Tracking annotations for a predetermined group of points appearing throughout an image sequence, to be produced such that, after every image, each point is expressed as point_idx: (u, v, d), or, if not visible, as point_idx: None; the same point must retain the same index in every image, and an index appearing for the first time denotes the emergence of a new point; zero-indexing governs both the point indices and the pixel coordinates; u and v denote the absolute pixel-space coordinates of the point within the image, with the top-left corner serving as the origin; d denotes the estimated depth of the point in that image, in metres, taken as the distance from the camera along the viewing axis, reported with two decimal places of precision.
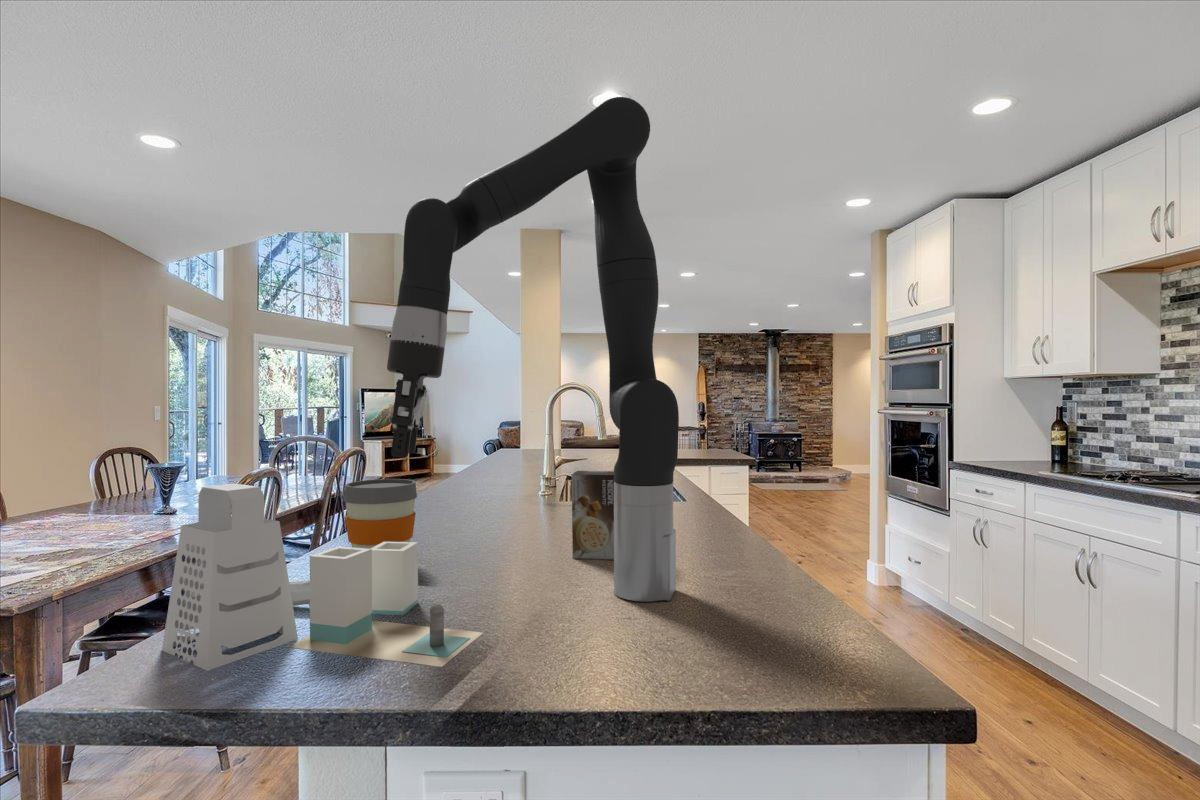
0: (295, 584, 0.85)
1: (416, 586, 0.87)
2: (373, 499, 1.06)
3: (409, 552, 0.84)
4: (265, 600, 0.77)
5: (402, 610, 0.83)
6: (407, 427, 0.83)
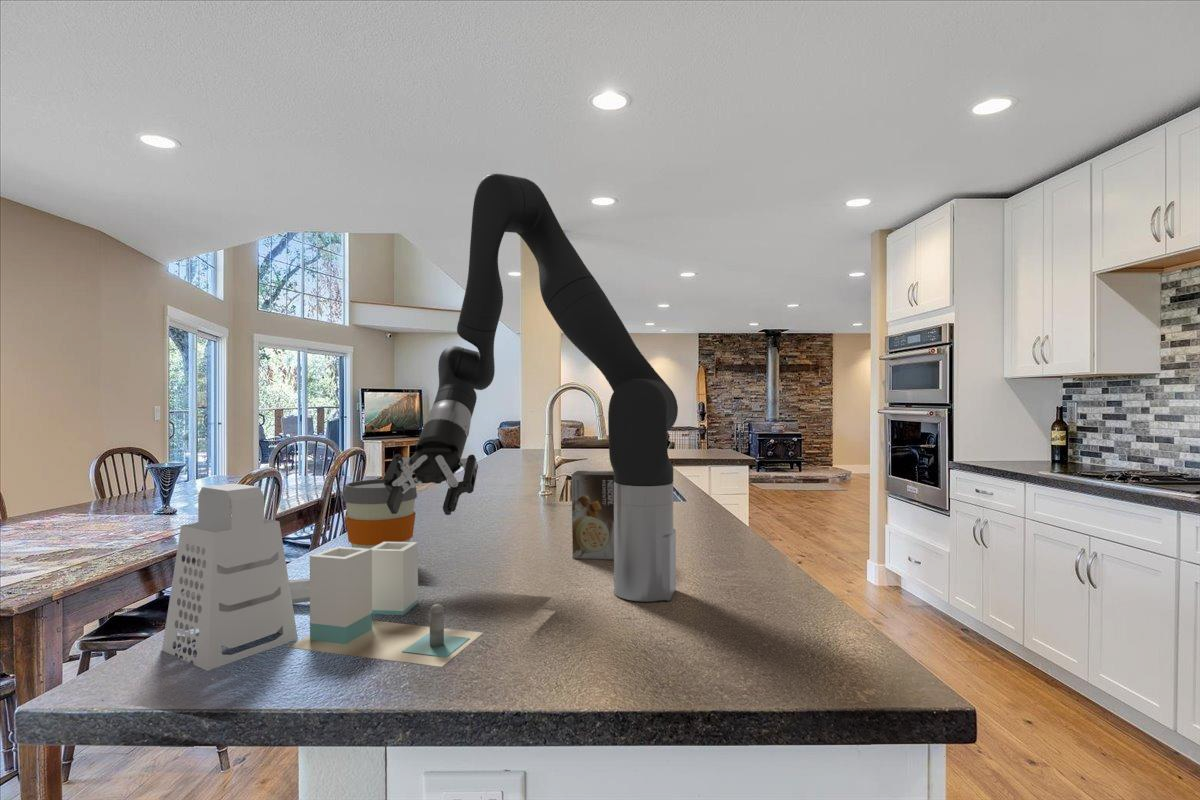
0: (300, 582, 0.86)
1: (416, 586, 0.87)
2: (373, 499, 1.06)
3: (409, 552, 0.84)
4: (265, 600, 0.77)
5: (402, 610, 0.83)
6: (391, 486, 0.98)
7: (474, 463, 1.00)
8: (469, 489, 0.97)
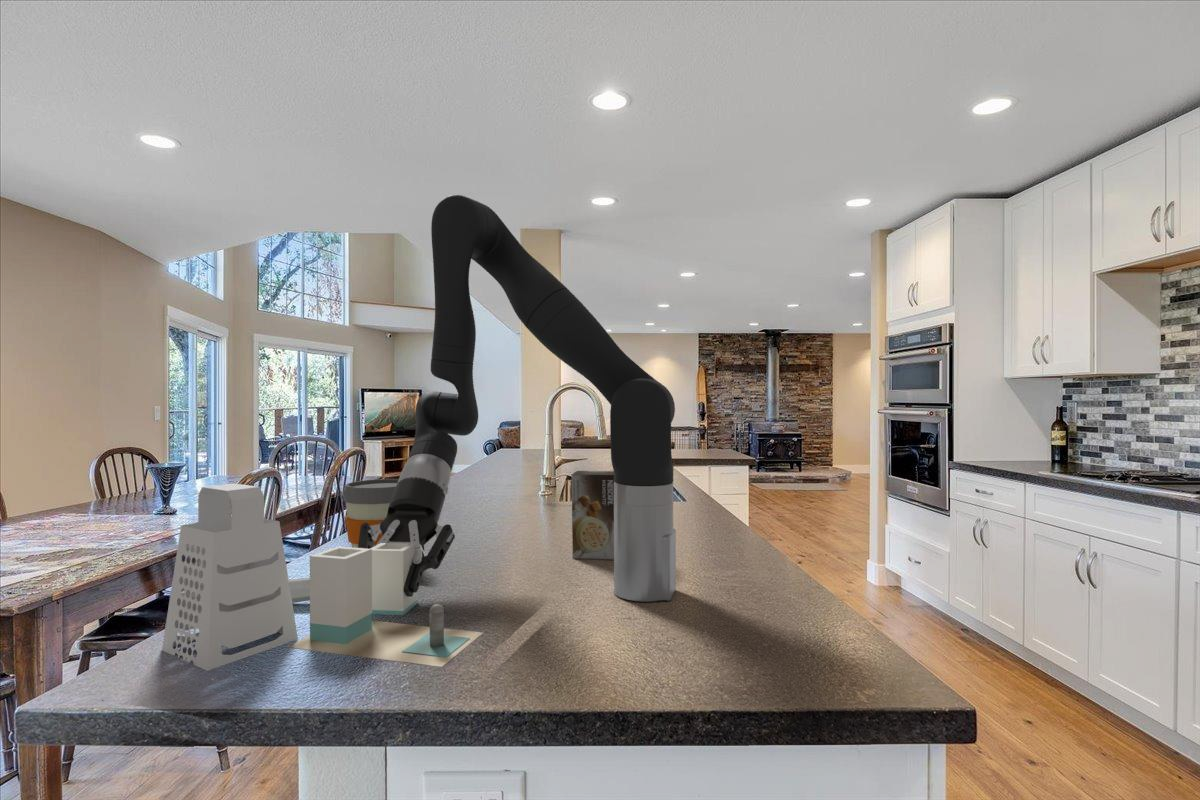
0: (300, 581, 0.86)
1: None
2: (373, 499, 1.06)
3: (409, 552, 0.84)
4: (265, 600, 0.77)
5: (401, 610, 0.82)
6: None
7: (448, 535, 0.88)
8: (433, 565, 0.86)
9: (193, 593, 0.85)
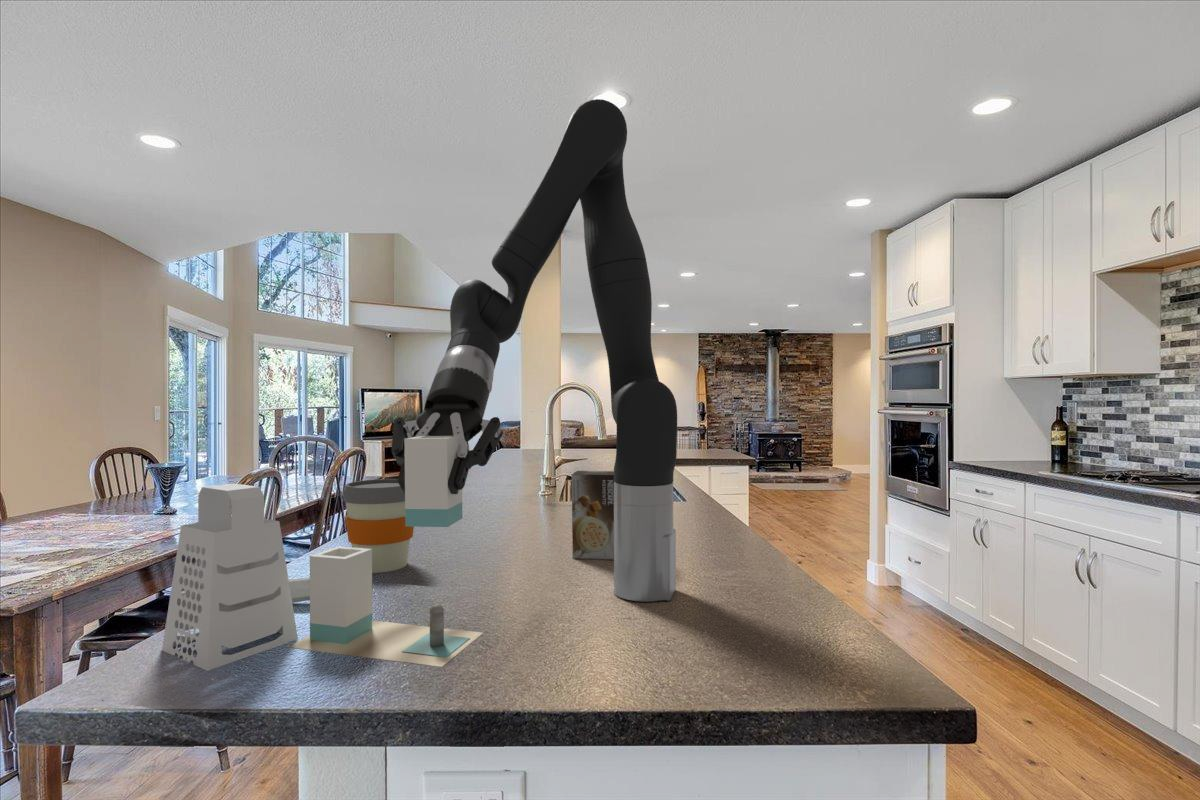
0: (300, 581, 0.86)
1: None
2: (373, 499, 1.06)
3: (453, 443, 0.72)
4: (265, 600, 0.77)
5: (445, 509, 0.70)
6: (402, 457, 0.74)
7: (496, 429, 0.76)
8: (480, 461, 0.74)
9: (192, 593, 0.85)
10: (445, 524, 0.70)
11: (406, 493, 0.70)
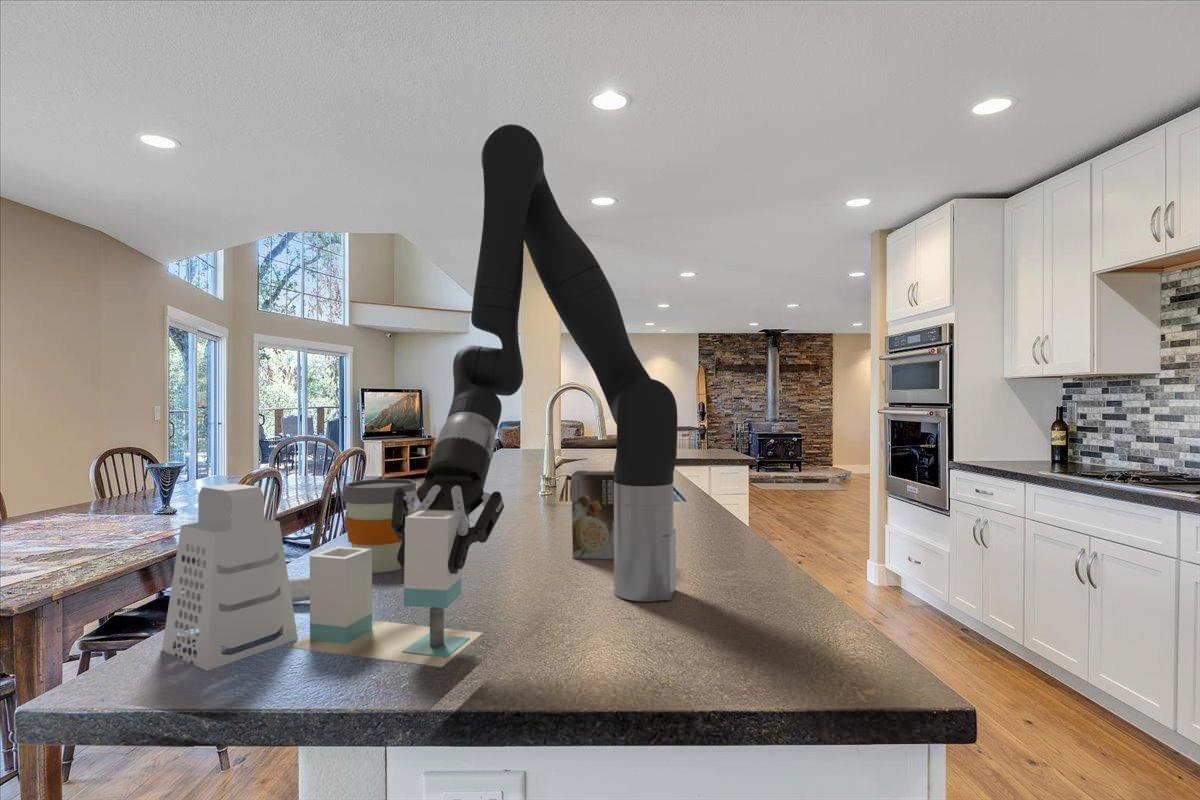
0: (300, 581, 0.86)
1: None
2: (373, 499, 1.06)
3: (454, 521, 0.71)
4: (265, 600, 0.77)
5: (445, 590, 0.69)
6: (402, 533, 0.73)
7: (497, 504, 0.75)
8: (481, 538, 0.73)
9: None
10: (444, 605, 0.69)
11: (405, 572, 0.70)
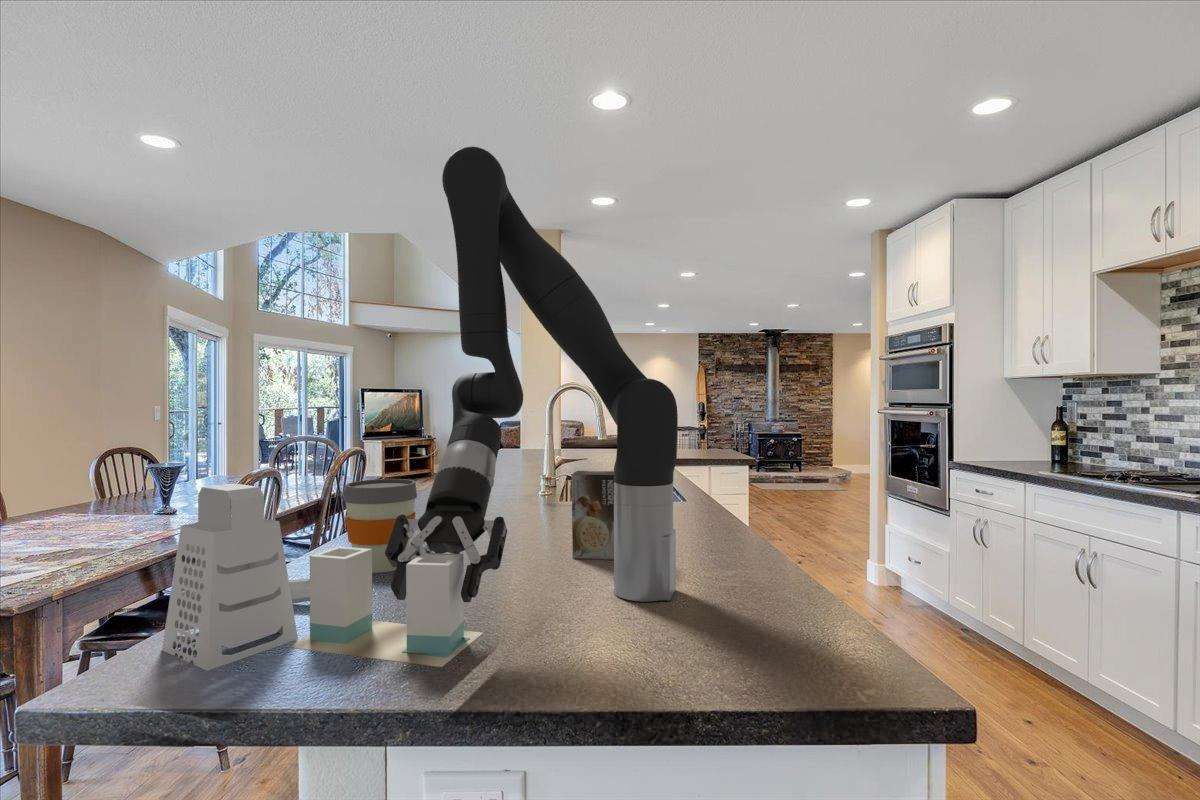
0: (297, 582, 0.86)
1: (462, 605, 0.74)
2: (373, 499, 1.06)
3: (455, 566, 0.71)
4: (265, 600, 0.77)
5: (447, 636, 0.69)
6: (396, 561, 0.74)
7: (502, 529, 0.76)
8: (494, 565, 0.73)
9: (192, 593, 0.86)
10: (447, 651, 0.69)
11: (407, 619, 0.70)
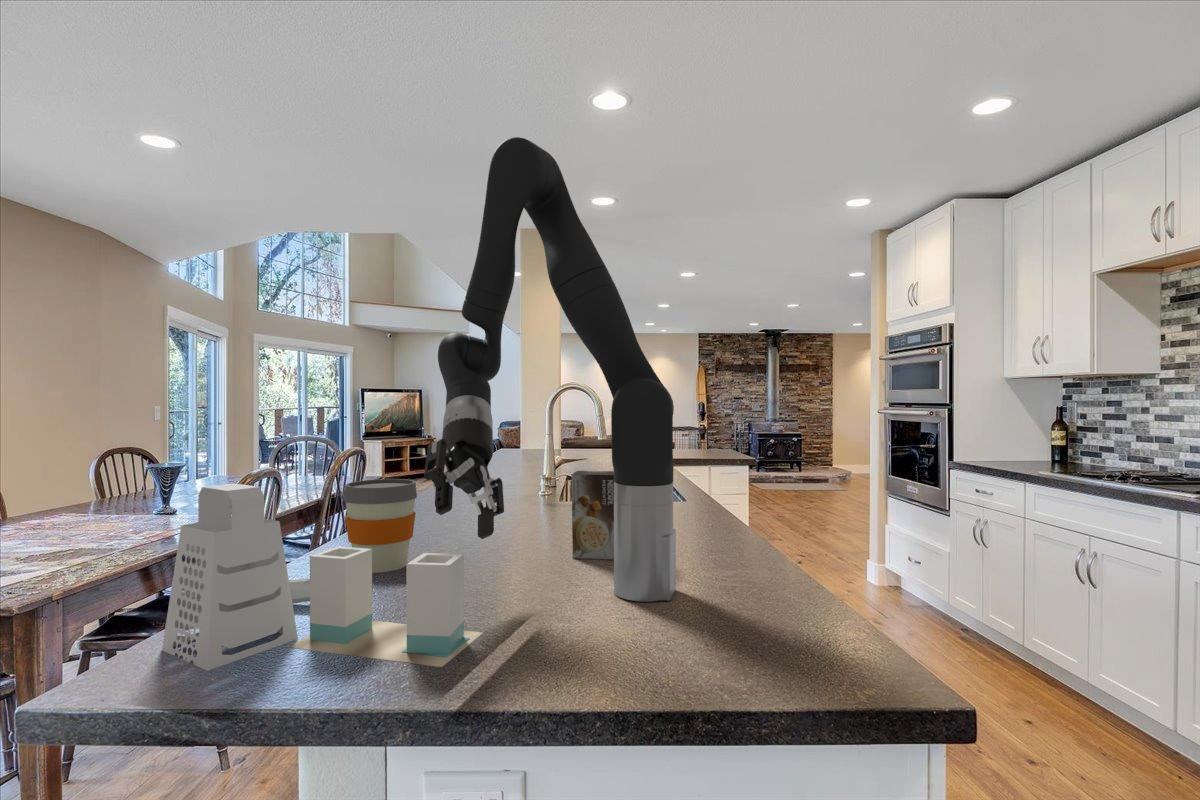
0: (297, 582, 0.86)
1: (462, 606, 0.74)
2: (373, 499, 1.06)
3: (455, 566, 0.71)
4: (265, 600, 0.77)
5: (447, 636, 0.69)
6: (442, 479, 0.83)
7: None
8: None
9: (192, 592, 0.86)
10: (447, 651, 0.69)
11: (408, 619, 0.70)
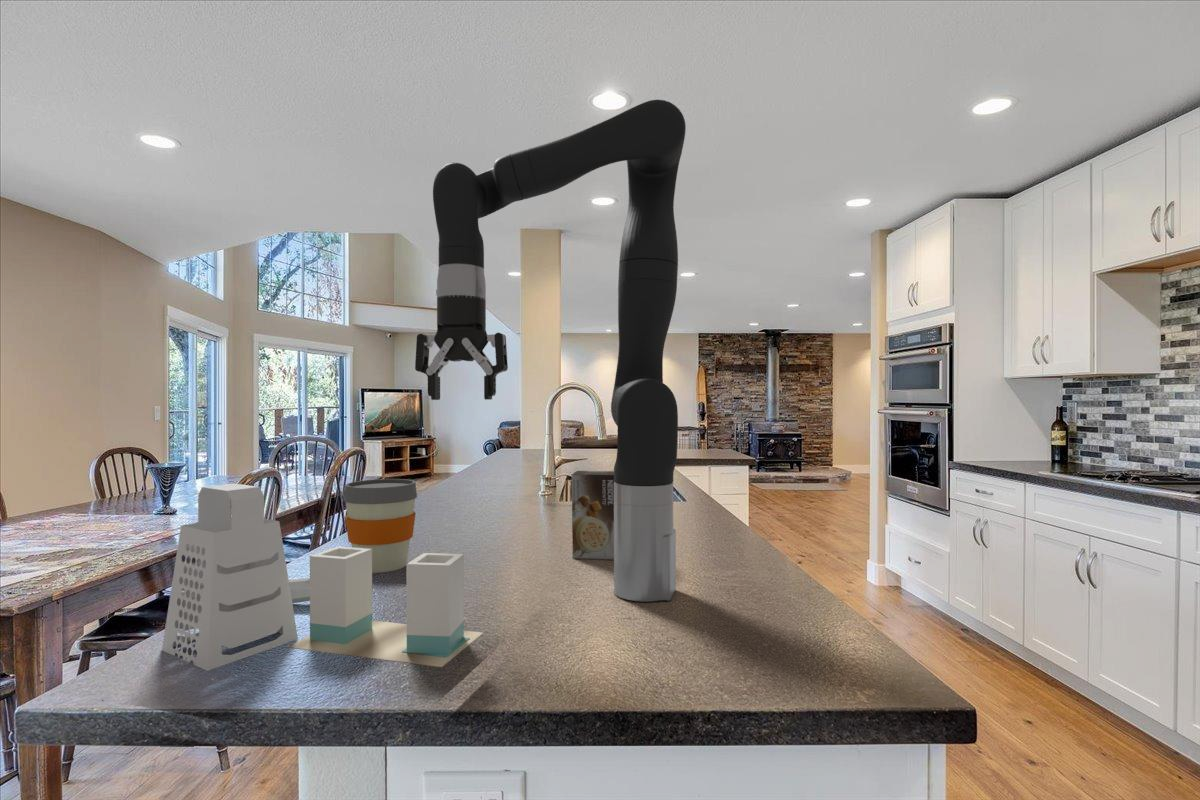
0: (297, 582, 0.86)
1: (462, 606, 0.74)
2: (373, 499, 1.06)
3: (455, 566, 0.71)
4: (265, 600, 0.77)
5: (447, 636, 0.69)
6: (497, 373, 0.98)
7: None
8: None
9: (192, 593, 0.85)
10: (447, 651, 0.69)
11: (408, 619, 0.70)
